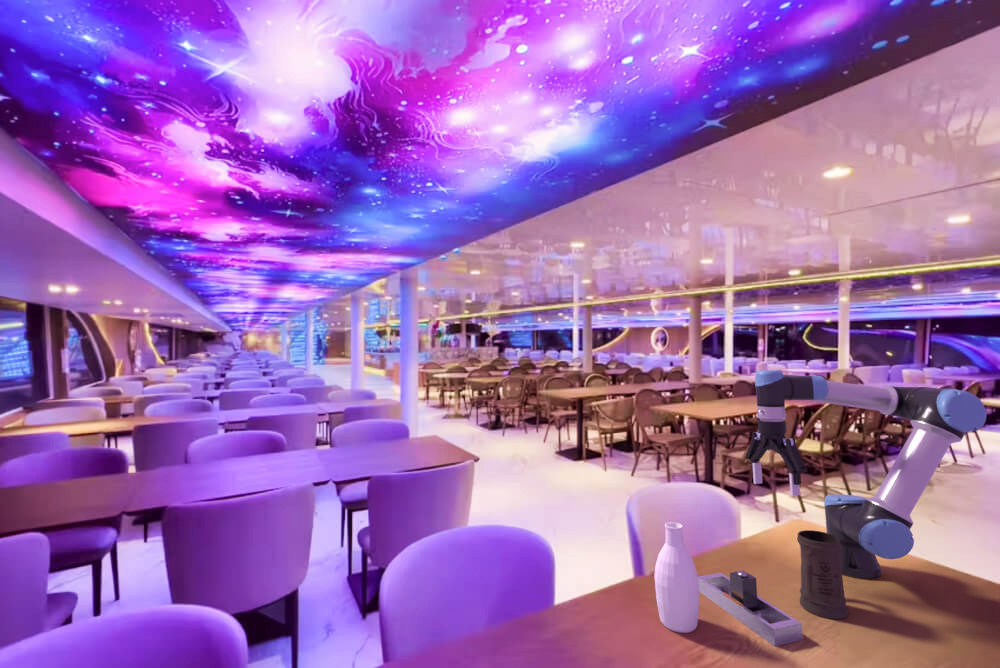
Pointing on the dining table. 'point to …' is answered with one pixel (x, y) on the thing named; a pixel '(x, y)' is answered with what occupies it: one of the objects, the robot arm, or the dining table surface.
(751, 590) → the square peg with dome
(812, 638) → the dining table surface
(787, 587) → the dining table surface
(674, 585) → the bottle
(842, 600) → the beer stein
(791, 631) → the frame with square openings
